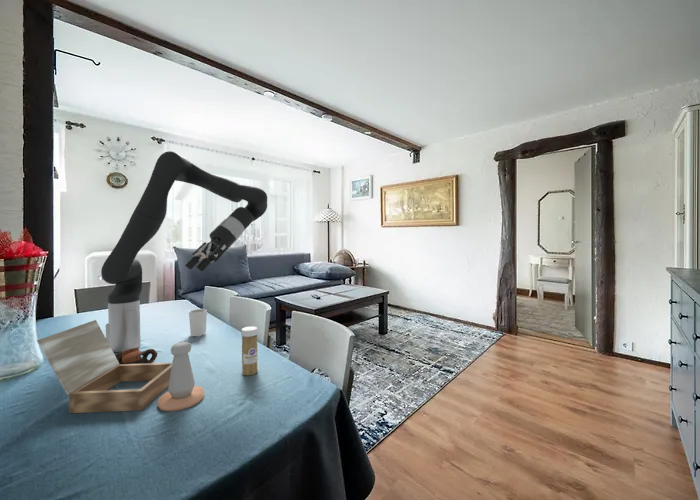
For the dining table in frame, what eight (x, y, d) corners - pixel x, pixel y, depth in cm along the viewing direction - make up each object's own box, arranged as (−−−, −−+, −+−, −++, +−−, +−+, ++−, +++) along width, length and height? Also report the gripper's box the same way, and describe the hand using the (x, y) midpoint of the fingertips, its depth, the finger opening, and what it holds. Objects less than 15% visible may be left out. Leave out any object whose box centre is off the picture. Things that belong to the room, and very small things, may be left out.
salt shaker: (176, 403, 70) (175, 349, 69) (163, 397, 73) (162, 345, 72) (199, 392, 75) (198, 342, 74) (187, 386, 78) (186, 338, 77)
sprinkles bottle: (248, 377, 85) (247, 331, 85) (238, 373, 88) (238, 328, 87) (261, 371, 89) (260, 327, 89) (251, 367, 92) (251, 324, 91)
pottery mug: (111, 386, 81) (102, 358, 83) (117, 387, 89) (108, 362, 90) (161, 364, 88) (151, 338, 90) (162, 367, 96) (154, 343, 97)
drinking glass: (210, 333, 125) (210, 310, 124) (195, 338, 119) (194, 313, 119) (201, 330, 128) (201, 308, 128) (186, 335, 123) (185, 311, 123)
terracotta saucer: (148, 412, 68) (148, 407, 68) (171, 390, 78) (171, 386, 78) (193, 410, 69) (193, 406, 69) (210, 388, 79) (210, 385, 79)
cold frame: (39, 414, 67) (36, 339, 67) (95, 380, 83) (92, 319, 83) (142, 410, 69) (140, 336, 68) (177, 377, 85) (175, 318, 84)
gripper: (210, 225, 104) (175, 259, 96) (230, 223, 94) (193, 261, 86) (225, 240, 108) (192, 274, 100) (245, 240, 99) (211, 278, 90)
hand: (193, 268), depth 93 cm, fingers open, 8 cm apart
